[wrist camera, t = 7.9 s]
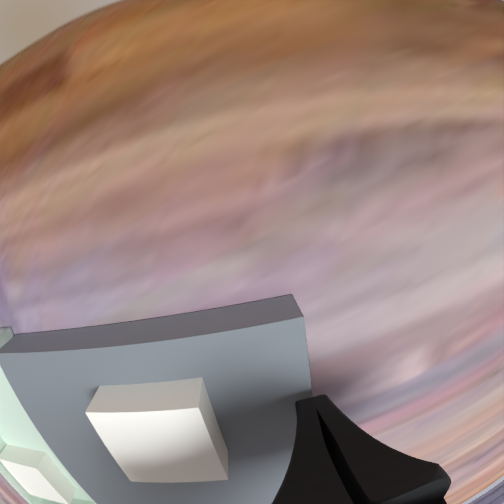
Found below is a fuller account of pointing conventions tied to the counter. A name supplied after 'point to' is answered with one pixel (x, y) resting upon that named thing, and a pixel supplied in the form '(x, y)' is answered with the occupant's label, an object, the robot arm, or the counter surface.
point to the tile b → (161, 431)
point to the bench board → (170, 369)
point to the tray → (26, 436)
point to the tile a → (37, 473)
